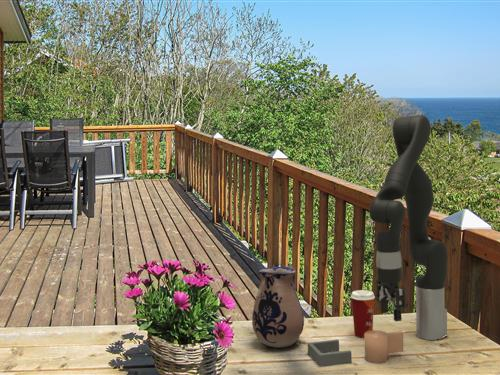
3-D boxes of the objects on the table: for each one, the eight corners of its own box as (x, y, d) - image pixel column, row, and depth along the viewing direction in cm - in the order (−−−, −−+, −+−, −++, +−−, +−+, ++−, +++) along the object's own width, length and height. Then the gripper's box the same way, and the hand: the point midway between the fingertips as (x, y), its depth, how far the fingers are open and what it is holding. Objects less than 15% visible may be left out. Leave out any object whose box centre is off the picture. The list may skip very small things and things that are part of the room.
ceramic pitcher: (244, 349, 194) (242, 275, 192) (267, 329, 214) (265, 261, 212) (295, 355, 188) (293, 278, 186) (314, 334, 207) (312, 263, 205)
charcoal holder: (337, 349, 191) (337, 339, 191) (351, 362, 180) (351, 351, 180) (307, 353, 189) (307, 342, 189) (320, 366, 178) (319, 355, 178)
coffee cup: (375, 339, 199) (375, 296, 198) (351, 338, 201) (350, 295, 200) (375, 331, 208) (374, 289, 206) (351, 330, 209) (351, 289, 208)
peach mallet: (396, 351, 188) (396, 327, 188) (408, 359, 182) (407, 333, 181) (360, 356, 185) (360, 332, 184) (371, 365, 178) (371, 339, 177)
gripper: (412, 268, 174) (413, 322, 175) (389, 259, 188) (391, 308, 189) (388, 271, 172) (390, 325, 174) (367, 261, 186) (369, 311, 187)
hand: (390, 316), depth 181 cm, fingers open, 8 cm apart
